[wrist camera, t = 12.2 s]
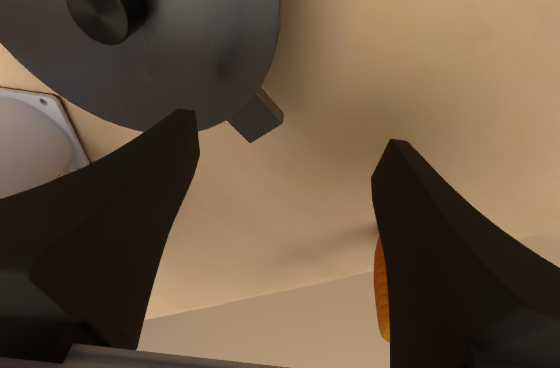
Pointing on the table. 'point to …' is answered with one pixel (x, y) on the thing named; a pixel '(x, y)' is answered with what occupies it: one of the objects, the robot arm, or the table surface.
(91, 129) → the table surface
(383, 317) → the carrot
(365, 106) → the table surface
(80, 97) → the pot lid
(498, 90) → the table surface
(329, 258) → the table surface
